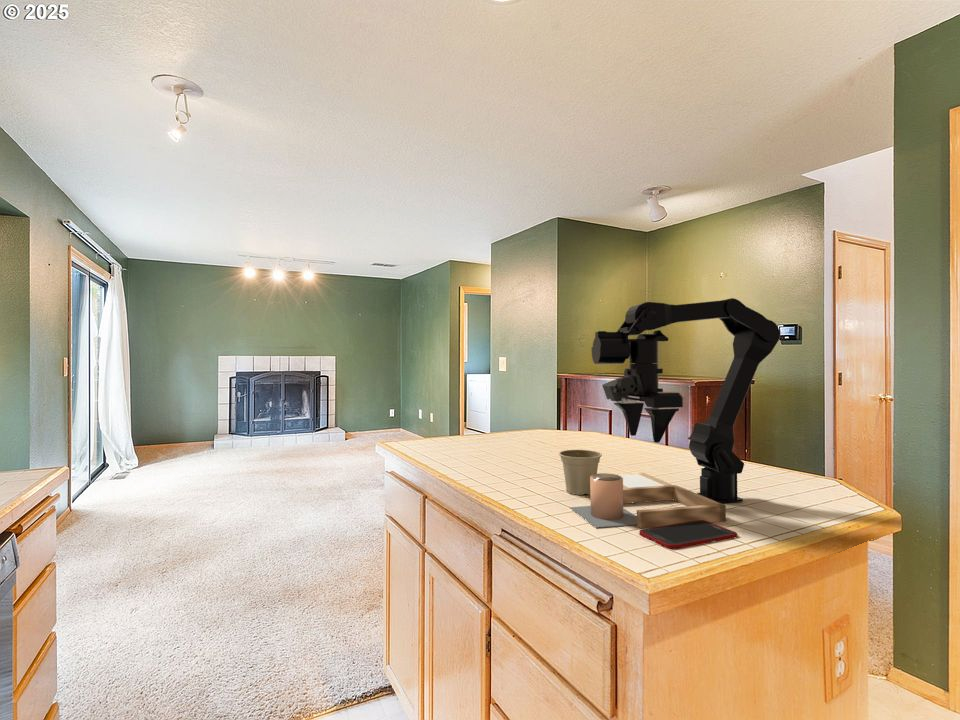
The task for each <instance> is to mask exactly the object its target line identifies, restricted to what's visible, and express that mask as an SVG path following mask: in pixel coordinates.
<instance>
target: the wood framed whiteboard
mask: <svg viewBox="0 0 960 720" xmlns="http://www.w3.org/2000/svg"><path fill="white" fill-rule="evenodd" d="M620 476H621V477H623V488H635V487H650V486H665V485H673V484H672V483H669V482H667V481H664V480H662V479H659V478H656V477H654V476H652V475H650V474H648V473H645V472H640V473H638V474H627V475H620Z"/></svg>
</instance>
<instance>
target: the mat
mask: <svg viewBox="0 0 960 720" xmlns="http://www.w3.org/2000/svg"><path fill="white" fill-rule="evenodd" d="M569 509H570V510H571V509H572V510H571V511H573V512H574V511H575V512H576V513H575V512H574V513H575V514H577V513H578V514H579V515H580V516H579V515H578V514H577V515H578V516H579V517H581V516H582V517H583V518H584V519H583V518H582V517H581V518H582V519H583V520H585V519H586V520H587V521H588V522H589V523H588V522H587V521H586V520H585V521H586V522H587V523H588V524H590V523H591V524H592V525H593V526H592V525H591V524H590V525H591V526H592V527H594V526H595V527H596V528H595V527H594V528H595V529H600V528H599V527H607V528H618V527H617V526H619V527H629V525H631V526H637V514H634V513H633V512H631V511H629V510H627V509H626V508H625V507H623V512H624V516H623V517H622V518H620V519H616V520H605V519H599V518H596V517H593V516H592V515H591V505H583V506H569Z"/></svg>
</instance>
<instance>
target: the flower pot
mask: <svg viewBox="0 0 960 720" xmlns="http://www.w3.org/2000/svg"><path fill="white" fill-rule="evenodd" d="M558 455H559V456H560V460H561V463H562V468H563V469H562V470H563V475H564V481H565V489H566V492H568V494H571V495H576V496H583V495H588V496H590V476H592V475H594V474H598V467H599V464H600V462H601V457H602V456H603V455H602V453H601V452H600V451H596V450H591V449H589V450H588V449H566V450H561V451H560V452H558Z"/></svg>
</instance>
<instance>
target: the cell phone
mask: <svg viewBox="0 0 960 720" xmlns="http://www.w3.org/2000/svg"><path fill="white" fill-rule="evenodd" d="M638 533H639V536H641V537H642V538H646V540H648V541H652V542H654V543H655V544H657V545H659V546H661V547H663V548H664V549H668V550H679V549H683V548H684V549H685V548H690V547H694V546H699V545H706V544H709V543H711V544H712V543H713V542H721V541H727V540H731V539H730V538H732V539H735V538H734V537H736V538H738V533H737V532H736V531H734V530H732V529H729V528H727V527H723V526H720V525H718V524H715V523H714V522H708V521H705V520H697V521H691V522H685V523H679V524H673V525H667V526H660V527H650V528H642V529H640V530H639V532H638ZM726 539H727V540H726Z"/></svg>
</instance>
